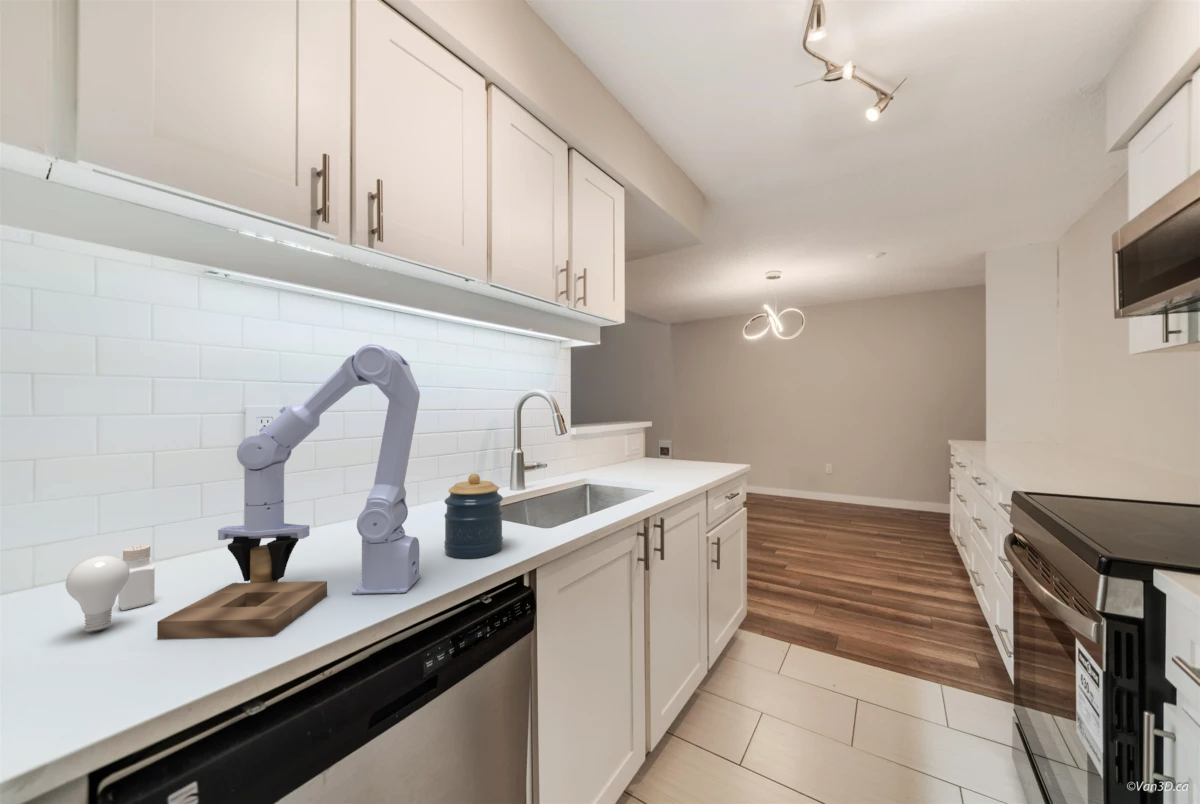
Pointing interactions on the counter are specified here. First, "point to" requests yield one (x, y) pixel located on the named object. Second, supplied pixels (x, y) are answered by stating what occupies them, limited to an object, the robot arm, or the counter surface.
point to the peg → (260, 565)
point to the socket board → (243, 610)
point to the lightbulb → (97, 588)
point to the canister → (473, 519)
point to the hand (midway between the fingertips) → (264, 578)
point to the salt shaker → (137, 578)
